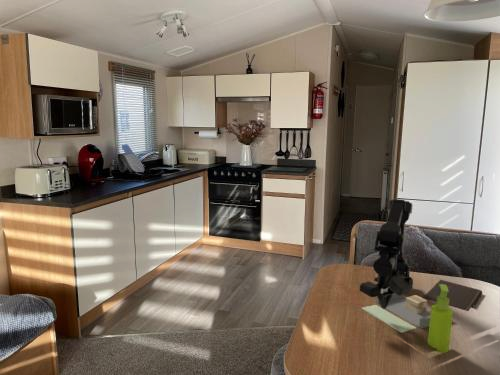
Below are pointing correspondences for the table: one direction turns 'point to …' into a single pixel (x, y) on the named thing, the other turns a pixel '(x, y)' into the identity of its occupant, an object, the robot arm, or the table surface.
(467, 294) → the hardcover book
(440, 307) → the soap dispenser
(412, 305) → the beech block
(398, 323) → the panel
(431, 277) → the table surface
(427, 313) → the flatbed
